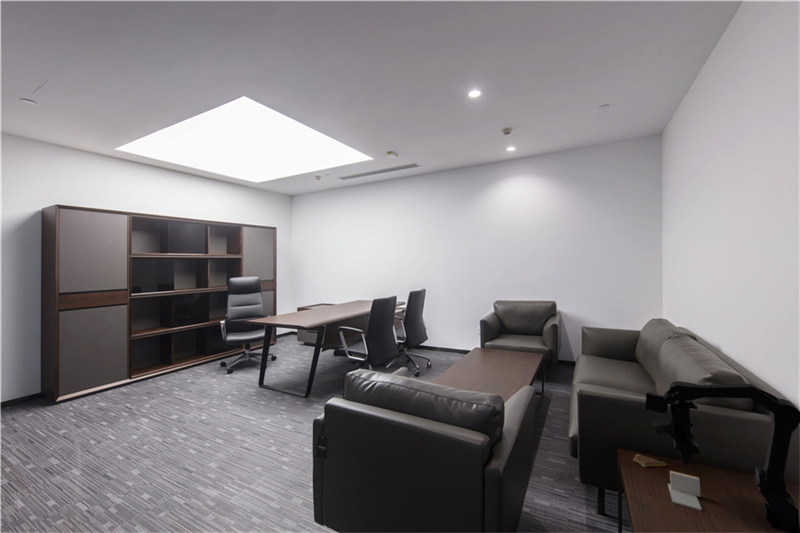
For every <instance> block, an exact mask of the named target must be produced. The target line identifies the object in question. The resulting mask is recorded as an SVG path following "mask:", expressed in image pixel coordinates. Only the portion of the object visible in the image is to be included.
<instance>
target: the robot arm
mask: <svg viewBox="0 0 800 533" xmlns="http://www.w3.org/2000/svg"><path fill="white" fill-rule="evenodd" d="M705 398H707V399H709V398H713V399H715V398H716V399H727V398H728V399H751V400H752V401H754V402H756V403H757V404H758V405H760V406H762V407H763V408H764V409H766V410H767V411H769V415H770V421H771V430H770V435H769V436H770V437H769V442H768V447H767V453H766V458H765V463H764V466H762V468H761V467H758V466H755V474H754V475H753V479H754V483H755V486H756V488H758V489H759V493H760V495H761V496H762V497H763V498H765V499H764V501H765V502H764V503H763V504H762V509H763V517H764V518H765V519H766V521H767V522H768V523H769V525H770V526H771V527H772V528H774V529H778V530H782V531H785V532H788V533H800V517H799V516H800V515H799V513H800V509H799V508H798V506H797V504H796V502H795V500H794V498H793V496H792V495H791V493H789V492H788V491H787V485H786V478H785V472H786V467H787V462H788V455H789V450H790V445H791V440H792V434H793V433H794V432H795V431H796V429H798V427H799V425H800V410H799V409H798V408H797V406H796V405H795V404H794V403H792V401H790V400H788V399H785V398H779V397H777V396H775V395H773V394H771V393H769V392H767V391H765V390H763V389H761V388H759V387H758V386H756V385H754V384H752V383H744V384H697V383H693V382H687V381H677V380H676V381H673V382H671V383H670V385H669V389H668V390H667V391H666V392H665V393H664V394H663V395H661V394H656V393H652V392H646V394H645V411H647V412H651V413H657V414H662V415H665V414H667V413H669V408H670V416H668V420H667V419H666V420H665V419H664V420H654V421H652V422H651V424H652V427H653V429H654V432H655V434H656V435H658V436H660V435H665V434H666V435H667V434H669V436H670V437H671V438H672V439H673V446H674V448H675V449H676V450H677V452H678V455H679V456H680V457H681V458H680V459H681V462H682V464H683V465H685V466H687V465H688V464H689V462H690V460H692V458H693V456H694V455H695V454H696V455H699V454H700V448H699V446H698V444H697V443H696V442H695V441H694V440H693V439H694V435H693V428H694V424H693V422H692V409H693V410H698V407H699V406H698V404H696V403H695V402H694V401H697V400H700V399H705ZM669 405H670V407H669Z"/></svg>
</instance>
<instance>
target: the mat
mask: <svg viewBox="0 0 800 533" xmlns="http://www.w3.org/2000/svg"><path fill="white" fill-rule="evenodd" d="M667 487H668V490H669V494H670V497H671V501H672V503H673V504H676V505H680V506H683V507H686V508H689V509H690V508H691V509H694V510H697V511H700V512H702V510H703V509H702V506H701V504H700V501H699V499H698V496H696V495H692V494H688V493H684V492H681V491H677V490H673V489H671V483H667Z"/></svg>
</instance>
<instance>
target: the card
mask: <svg viewBox="0 0 800 533" xmlns="http://www.w3.org/2000/svg"><path fill="white" fill-rule="evenodd" d="M669 478H670V483H669V484H671V489H673V490H677V491H681V492H684V493H688V494H692V495H696V496H697V497H699V498H700V497H701V485H700V484H701V483H700V482H701V481H700V478H699V476H695V475H694V476H693V475H691V474H690V475H689V474H686V473H683V472H678V471H674V470H669Z"/></svg>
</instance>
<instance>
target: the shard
mask: <svg viewBox="0 0 800 533" xmlns="http://www.w3.org/2000/svg"><path fill="white" fill-rule="evenodd" d="M632 461H633V462H634V463H637V464H639V465H640V466H642V467H644V468H646V467H666V466H667V465H668V463H666V462H663V461H660V460H657V459H655V458H651V457H649V456H645V455H641V454H638V453H637V454H634V457H633V458H632Z"/></svg>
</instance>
